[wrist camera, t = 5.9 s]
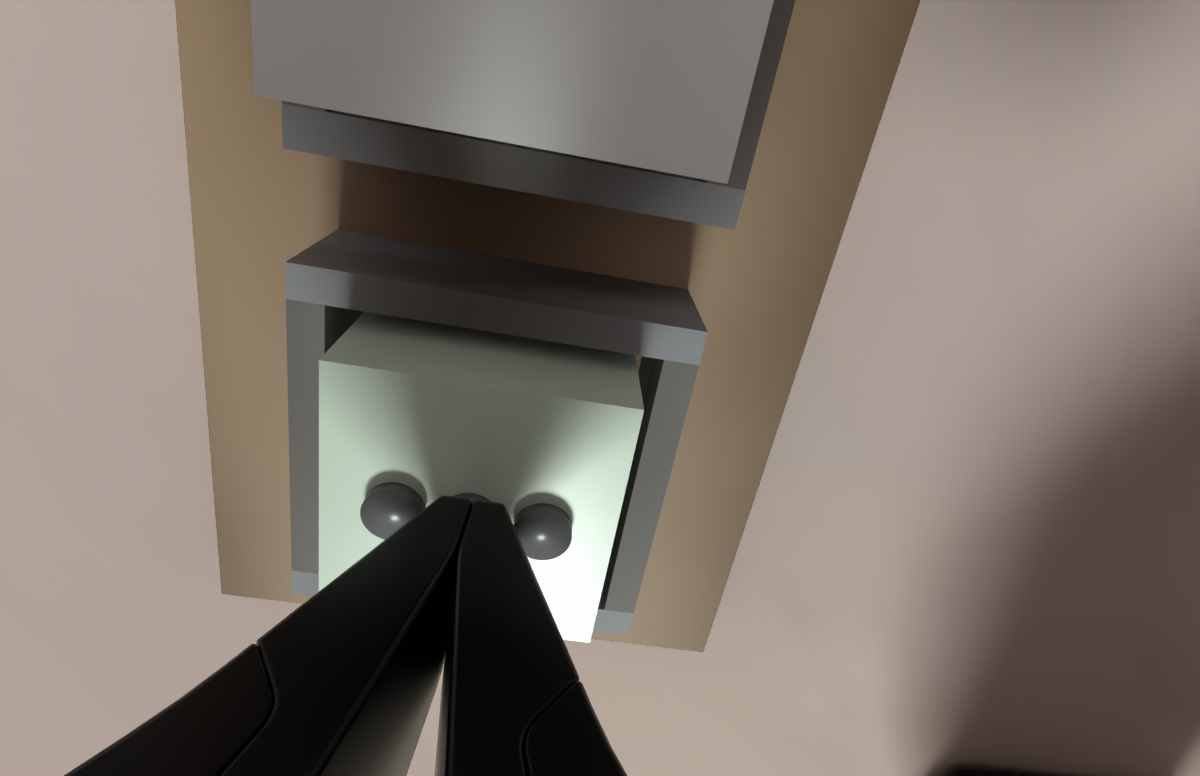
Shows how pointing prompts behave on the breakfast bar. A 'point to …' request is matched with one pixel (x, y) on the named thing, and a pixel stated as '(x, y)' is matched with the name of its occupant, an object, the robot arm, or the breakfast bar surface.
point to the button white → (528, 71)
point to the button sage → (478, 446)
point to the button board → (525, 286)
